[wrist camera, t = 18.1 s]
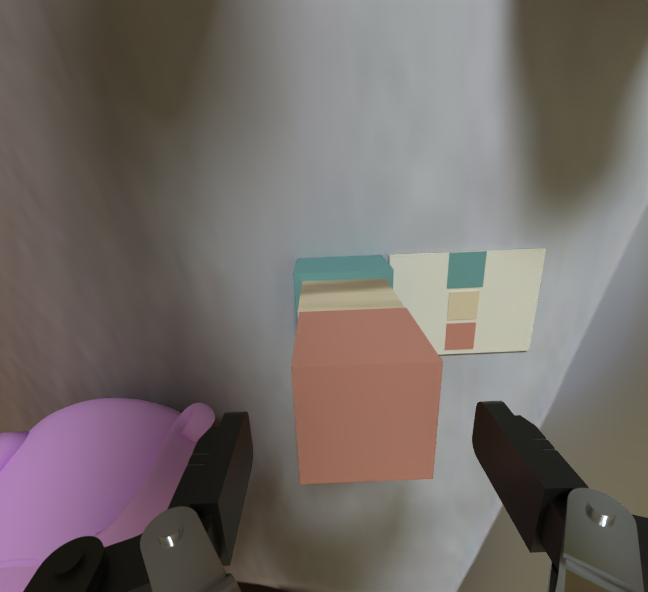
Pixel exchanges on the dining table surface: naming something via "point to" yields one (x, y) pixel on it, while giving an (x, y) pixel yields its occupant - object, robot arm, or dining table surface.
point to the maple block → (347, 295)
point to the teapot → (90, 477)
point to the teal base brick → (340, 270)
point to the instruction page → (471, 297)
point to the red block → (364, 396)
